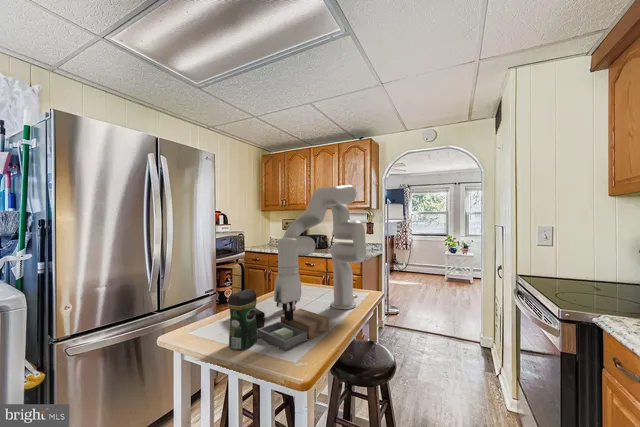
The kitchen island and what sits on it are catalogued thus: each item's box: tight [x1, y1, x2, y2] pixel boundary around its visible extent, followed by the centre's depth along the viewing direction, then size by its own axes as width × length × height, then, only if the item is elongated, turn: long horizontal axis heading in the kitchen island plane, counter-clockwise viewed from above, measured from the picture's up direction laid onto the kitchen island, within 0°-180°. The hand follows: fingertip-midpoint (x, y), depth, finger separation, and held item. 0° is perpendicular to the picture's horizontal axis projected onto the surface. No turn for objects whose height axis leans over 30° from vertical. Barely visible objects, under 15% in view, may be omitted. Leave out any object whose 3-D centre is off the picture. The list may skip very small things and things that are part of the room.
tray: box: [257, 321, 308, 352], centre depth 97 cm, size 10×16×3 cm, turn 47°
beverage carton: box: [256, 307, 266, 329], centre depth 114 cm, size 8×19×7 cm, turn 38°
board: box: [280, 308, 330, 341], centre depth 106 cm, size 11×16×5 cm
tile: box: [274, 328, 293, 340], centre depth 98 cm, size 5×5×2 cm
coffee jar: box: [227, 288, 259, 351], centre depth 94 cm, size 10×8×19 cm
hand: (288, 319), depth 100 cm, fingers closed
